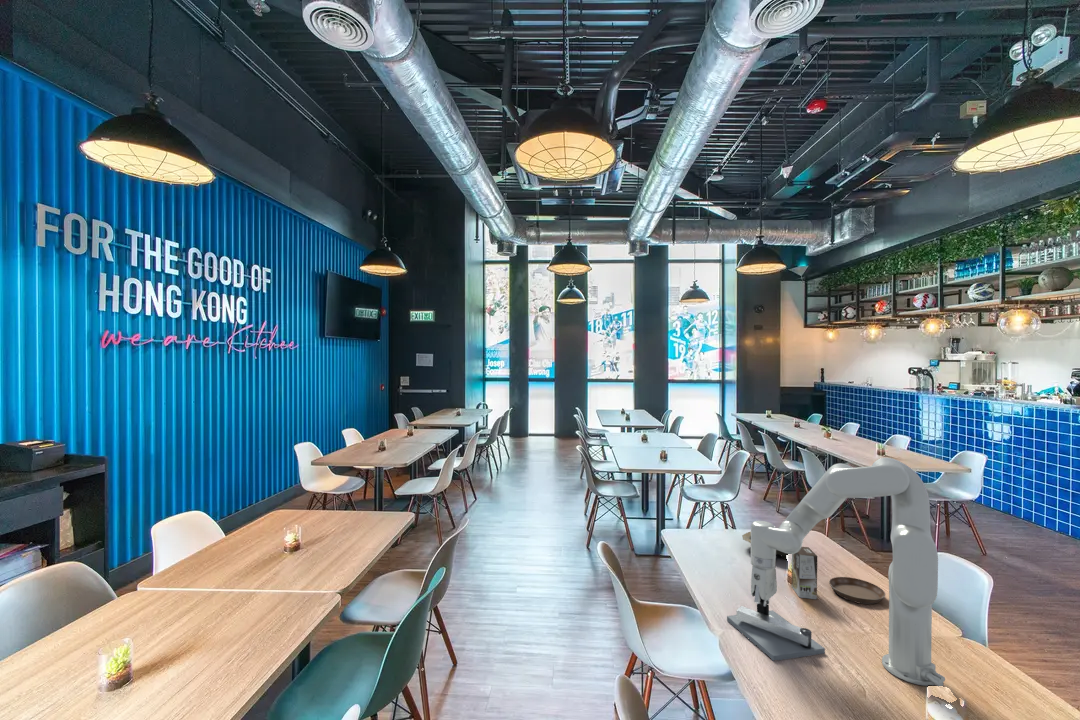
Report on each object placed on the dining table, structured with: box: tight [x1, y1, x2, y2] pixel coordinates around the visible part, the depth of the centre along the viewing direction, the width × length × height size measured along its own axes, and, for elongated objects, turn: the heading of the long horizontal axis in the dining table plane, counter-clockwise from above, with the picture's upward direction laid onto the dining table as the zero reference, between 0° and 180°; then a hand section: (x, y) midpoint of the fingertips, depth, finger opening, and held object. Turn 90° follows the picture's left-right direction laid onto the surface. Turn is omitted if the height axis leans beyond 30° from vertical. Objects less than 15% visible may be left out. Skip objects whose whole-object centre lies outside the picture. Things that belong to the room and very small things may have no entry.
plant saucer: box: [828, 576, 886, 605], centre depth 177 cm, size 18×18×3 cm
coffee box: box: [791, 546, 819, 600], centre depth 178 cm, size 9×6×16 cm
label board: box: [726, 609, 826, 662], centre depth 149 cm, size 22×18×2 cm
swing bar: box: [735, 605, 813, 648], centre depth 147 cm, size 22×4×4 cm, turn 46°
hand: (762, 616), depth 153 cm, fingers closed
